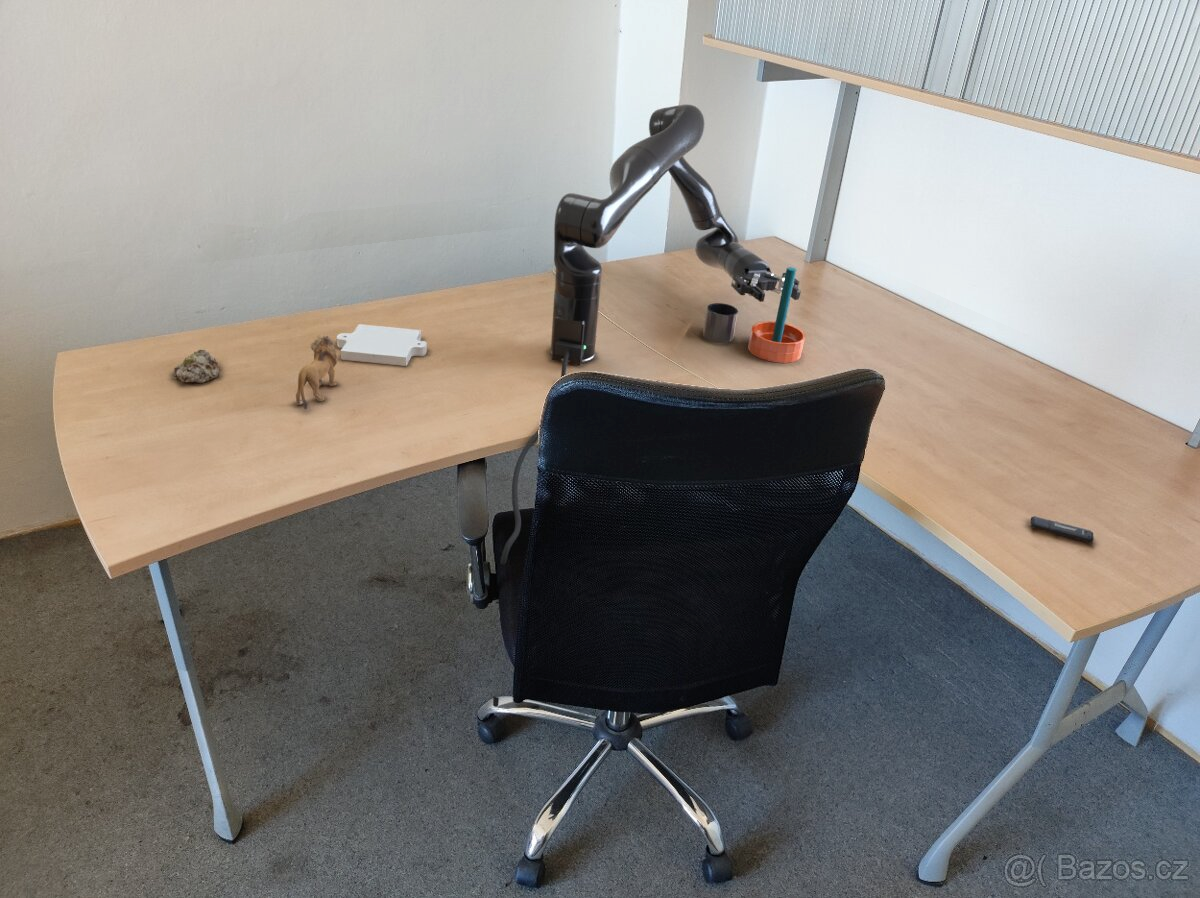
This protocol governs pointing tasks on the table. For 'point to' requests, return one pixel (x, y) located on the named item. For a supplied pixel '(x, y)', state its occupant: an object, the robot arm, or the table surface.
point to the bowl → (776, 343)
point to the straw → (784, 304)
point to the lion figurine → (317, 368)
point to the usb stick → (1062, 529)
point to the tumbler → (720, 322)
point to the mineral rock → (197, 368)
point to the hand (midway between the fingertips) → (780, 296)
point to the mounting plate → (381, 345)
